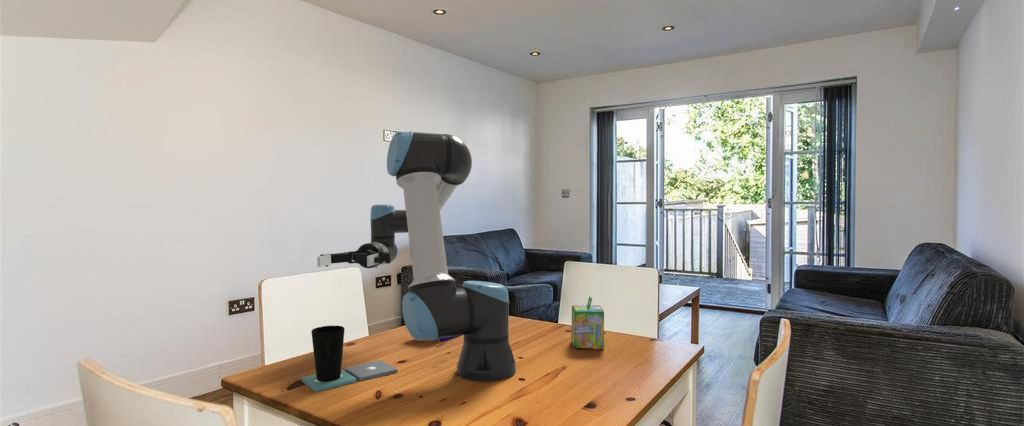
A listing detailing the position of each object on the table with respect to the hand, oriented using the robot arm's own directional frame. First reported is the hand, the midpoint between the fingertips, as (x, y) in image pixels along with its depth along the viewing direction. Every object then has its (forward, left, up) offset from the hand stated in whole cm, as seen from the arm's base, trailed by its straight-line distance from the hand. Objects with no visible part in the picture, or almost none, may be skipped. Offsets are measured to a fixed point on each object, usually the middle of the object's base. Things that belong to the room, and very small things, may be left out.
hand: (343, 261), depth 133 cm
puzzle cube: (+11, -37, -29) cm, 48 cm away
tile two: (-7, +7, -28) cm, 30 cm away
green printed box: (-28, -65, -29) cm, 76 cm away
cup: (-7, +7, -28) cm, 29 cm away
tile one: (-7, -4, -28) cm, 30 cm away
